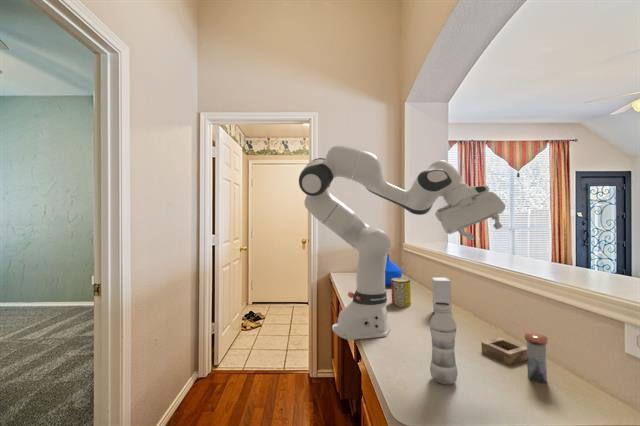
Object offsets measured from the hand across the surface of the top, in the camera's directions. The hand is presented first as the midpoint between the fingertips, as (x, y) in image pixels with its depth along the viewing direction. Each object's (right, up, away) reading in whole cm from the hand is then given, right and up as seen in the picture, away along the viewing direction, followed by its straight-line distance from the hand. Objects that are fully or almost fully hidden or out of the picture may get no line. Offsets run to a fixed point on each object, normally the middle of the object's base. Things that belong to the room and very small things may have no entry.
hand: (485, 233), depth 92 cm
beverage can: (-13, -38, +50) cm, 64 cm away
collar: (+4, -37, -4) cm, 37 cm away
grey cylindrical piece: (+4, -37, -17) cm, 41 cm away
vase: (-10, -39, +92) cm, 101 cm away
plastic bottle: (-21, -37, -17) cm, 46 cm away
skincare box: (0, -38, +34) cm, 51 cm away
